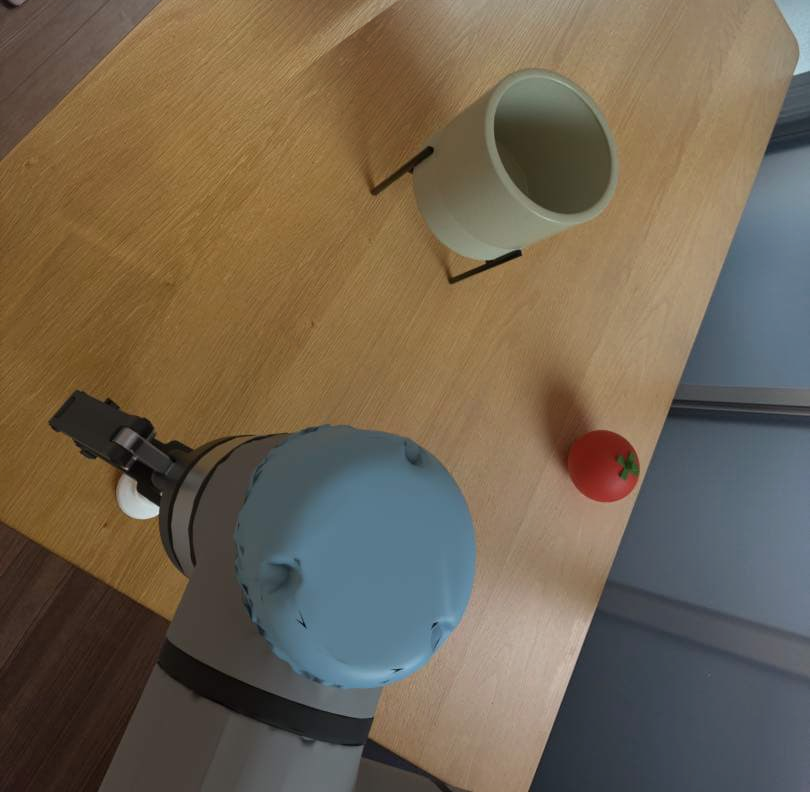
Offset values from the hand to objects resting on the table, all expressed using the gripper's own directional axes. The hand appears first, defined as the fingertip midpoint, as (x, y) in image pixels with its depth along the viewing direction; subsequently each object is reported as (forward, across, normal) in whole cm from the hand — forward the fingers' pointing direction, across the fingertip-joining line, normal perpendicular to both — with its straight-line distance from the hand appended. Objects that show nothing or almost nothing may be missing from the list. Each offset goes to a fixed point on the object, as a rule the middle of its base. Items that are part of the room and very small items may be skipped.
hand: (174, 493), depth 53 cm
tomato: (+14, -40, -29) cm, 51 cm away
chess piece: (+14, 0, 0) cm, 14 cm away
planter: (+14, -8, -42) cm, 45 cm away
